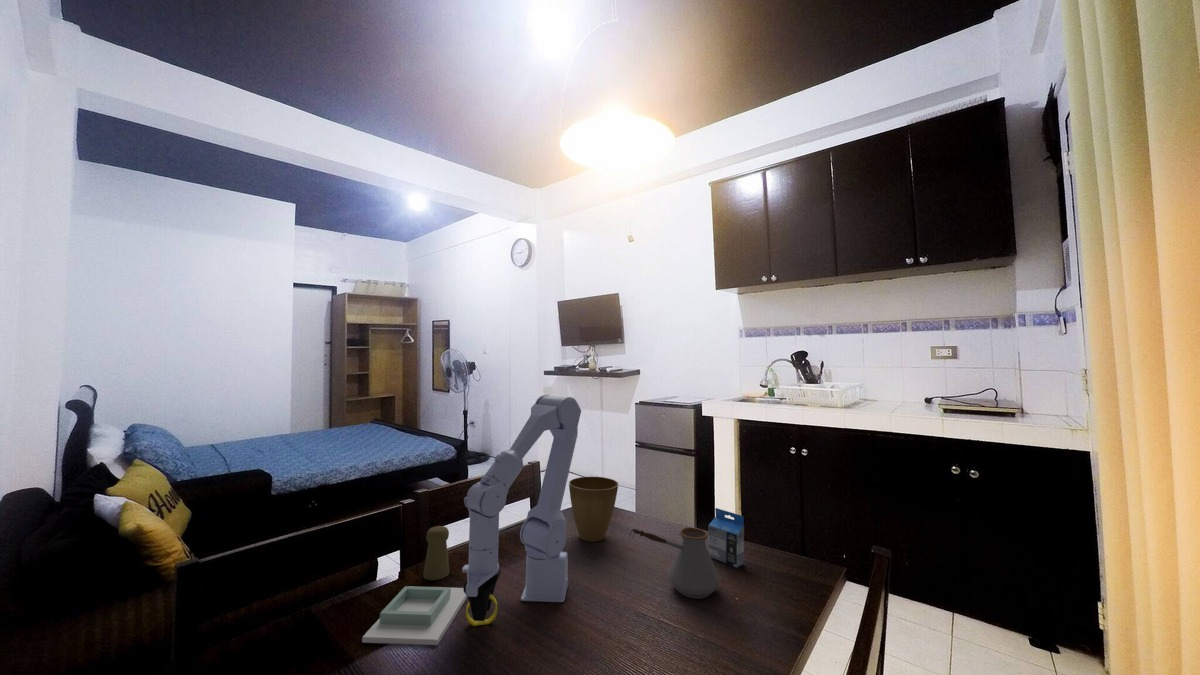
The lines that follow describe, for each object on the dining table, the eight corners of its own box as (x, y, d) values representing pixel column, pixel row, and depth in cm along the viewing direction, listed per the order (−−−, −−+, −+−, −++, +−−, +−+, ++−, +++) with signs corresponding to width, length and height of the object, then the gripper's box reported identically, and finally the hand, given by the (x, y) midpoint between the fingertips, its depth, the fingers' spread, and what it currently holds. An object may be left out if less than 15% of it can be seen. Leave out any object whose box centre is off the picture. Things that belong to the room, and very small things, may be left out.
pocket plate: (470, 592, 97) (470, 579, 97) (437, 645, 79) (437, 628, 79) (408, 590, 97) (409, 577, 98) (362, 642, 79) (363, 625, 80)
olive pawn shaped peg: (440, 581, 102) (442, 533, 102) (417, 578, 103) (419, 531, 104) (454, 569, 108) (455, 524, 108) (432, 566, 109) (433, 522, 109)
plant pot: (600, 552, 119) (600, 492, 120) (557, 539, 127) (558, 483, 128) (626, 534, 131) (627, 480, 132) (586, 523, 139) (587, 473, 140)
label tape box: (707, 556, 117) (707, 510, 117) (715, 552, 119) (715, 507, 120) (736, 568, 110) (736, 519, 111) (744, 563, 113) (744, 515, 114)
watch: (495, 618, 88) (498, 588, 88) (496, 627, 85) (499, 595, 86) (465, 620, 86) (468, 590, 87) (464, 629, 84) (467, 597, 84)
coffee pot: (703, 574, 107) (703, 512, 108) (729, 599, 96) (729, 530, 97) (621, 585, 101) (622, 520, 102) (638, 613, 90) (639, 539, 91)
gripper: (475, 530, 94) (473, 594, 93) (450, 560, 79) (447, 637, 79) (507, 531, 94) (506, 595, 93) (488, 561, 79) (486, 638, 78)
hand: (481, 614), depth 86 cm, fingers closed on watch, 3 cm apart
